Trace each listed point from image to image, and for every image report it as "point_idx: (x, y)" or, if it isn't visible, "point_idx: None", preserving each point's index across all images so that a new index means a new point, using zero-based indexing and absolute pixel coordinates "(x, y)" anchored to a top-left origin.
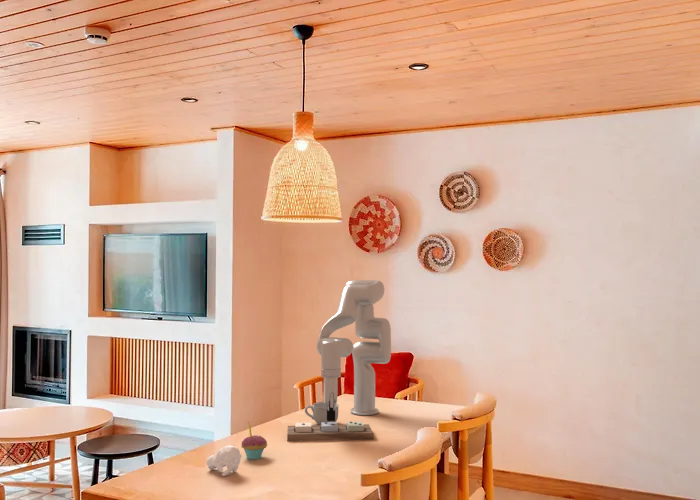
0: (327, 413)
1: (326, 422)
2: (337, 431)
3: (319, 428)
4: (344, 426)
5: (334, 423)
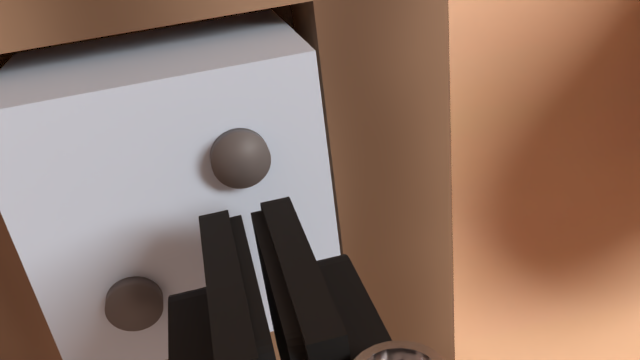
0: (214, 321)
1: (249, 170)
2: None
3: (211, 3)
4: None
5: None
